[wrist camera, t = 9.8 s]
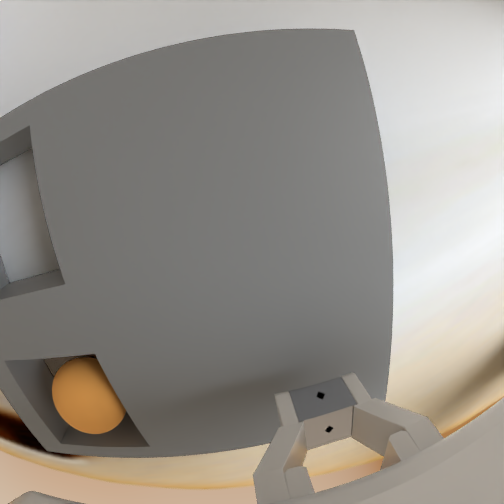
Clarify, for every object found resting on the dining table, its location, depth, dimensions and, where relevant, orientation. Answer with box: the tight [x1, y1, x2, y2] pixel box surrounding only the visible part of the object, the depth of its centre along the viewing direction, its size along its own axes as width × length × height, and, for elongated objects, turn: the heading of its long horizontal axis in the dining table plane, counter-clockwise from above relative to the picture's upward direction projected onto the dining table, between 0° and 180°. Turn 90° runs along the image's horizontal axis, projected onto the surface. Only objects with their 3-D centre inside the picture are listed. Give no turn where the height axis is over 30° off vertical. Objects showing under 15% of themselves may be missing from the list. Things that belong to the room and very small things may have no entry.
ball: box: [52, 357, 126, 434], centre depth 12 cm, size 4×4×4 cm
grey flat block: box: [0, 29, 393, 458], centre depth 11 cm, size 17×20×3 cm
